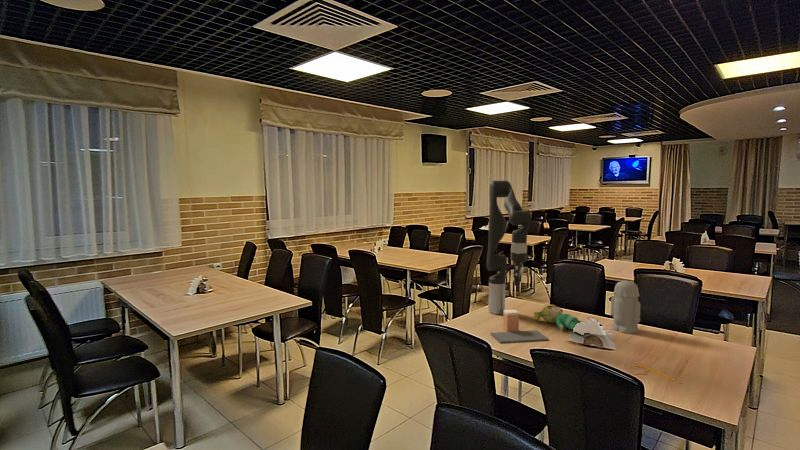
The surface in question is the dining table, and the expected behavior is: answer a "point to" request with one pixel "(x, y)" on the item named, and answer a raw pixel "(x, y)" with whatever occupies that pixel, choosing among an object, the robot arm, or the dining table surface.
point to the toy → (557, 317)
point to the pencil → (655, 371)
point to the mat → (519, 336)
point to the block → (511, 320)
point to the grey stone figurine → (625, 307)
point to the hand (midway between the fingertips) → (517, 283)
